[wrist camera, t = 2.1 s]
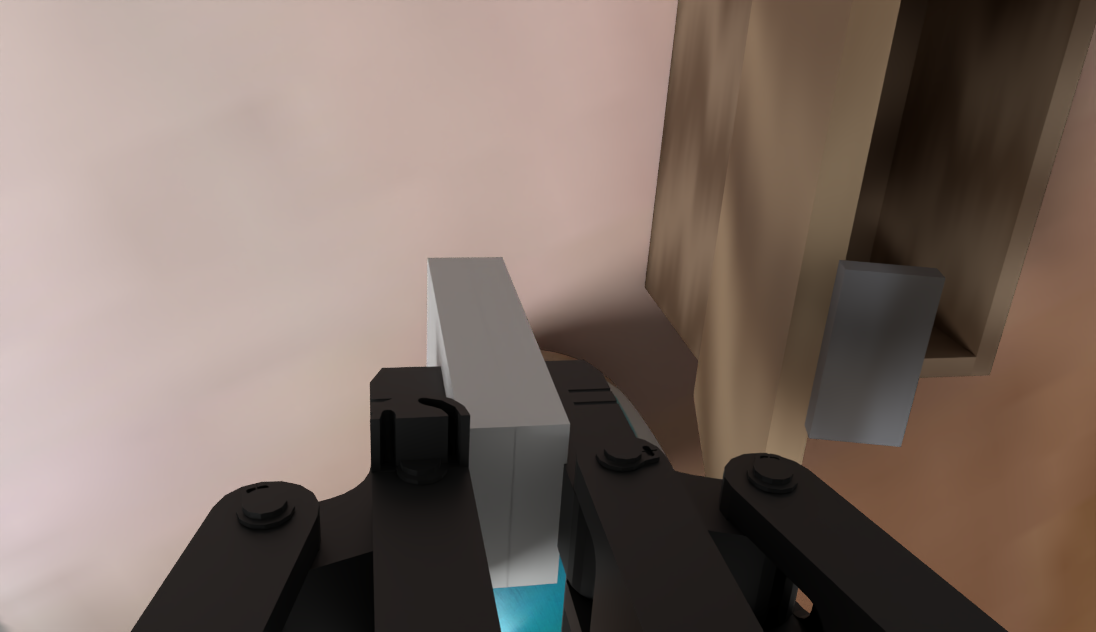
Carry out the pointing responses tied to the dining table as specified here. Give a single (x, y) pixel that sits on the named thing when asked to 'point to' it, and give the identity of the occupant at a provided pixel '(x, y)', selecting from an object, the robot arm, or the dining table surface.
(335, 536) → the robot arm
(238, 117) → the dining table surface
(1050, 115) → the box
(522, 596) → the vase
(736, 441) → the lid
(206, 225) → the dining table surface
